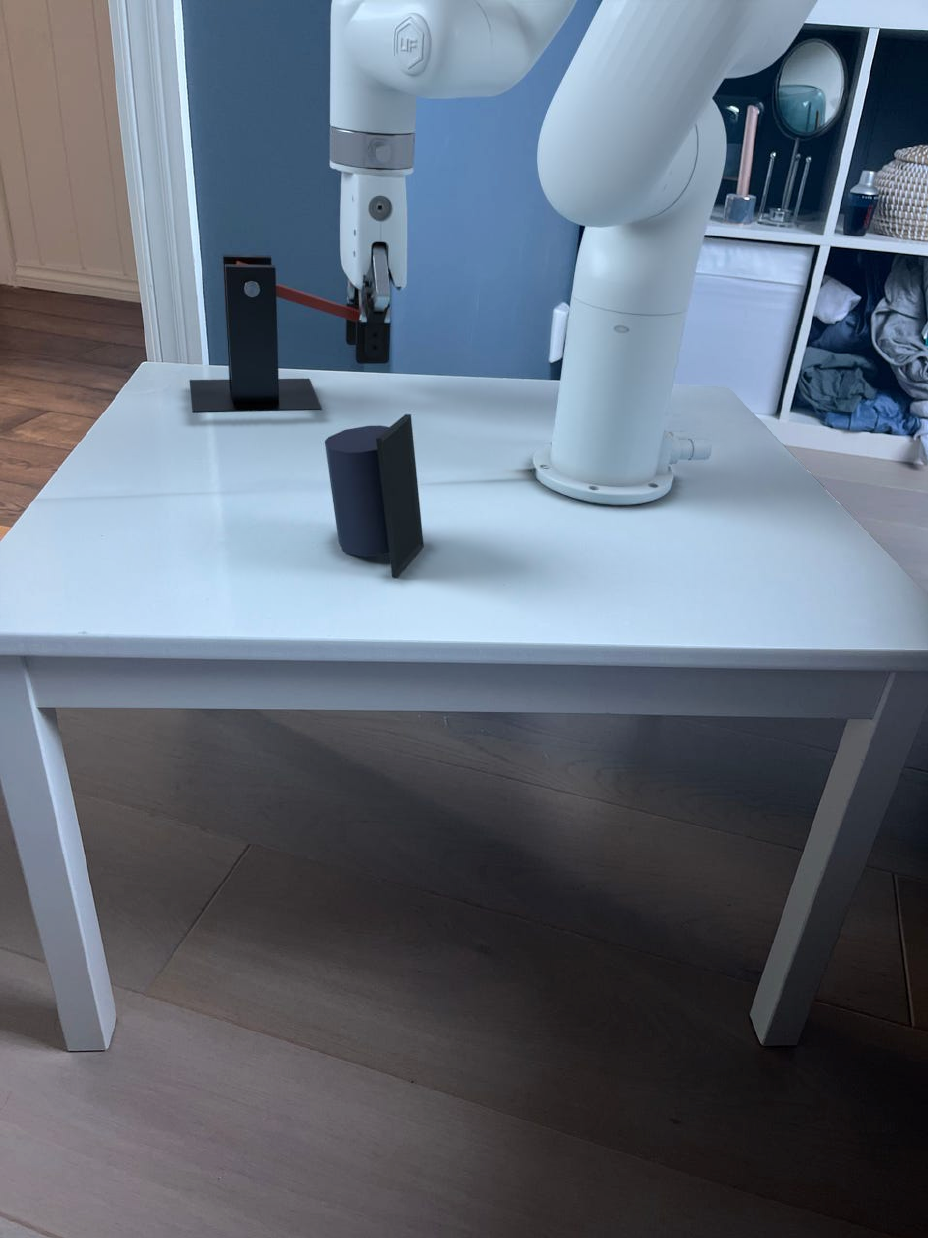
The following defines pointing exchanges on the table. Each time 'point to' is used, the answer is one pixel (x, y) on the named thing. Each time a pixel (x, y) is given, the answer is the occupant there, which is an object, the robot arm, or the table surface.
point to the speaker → (376, 492)
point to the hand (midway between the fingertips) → (366, 351)
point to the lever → (315, 302)
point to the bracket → (251, 347)
